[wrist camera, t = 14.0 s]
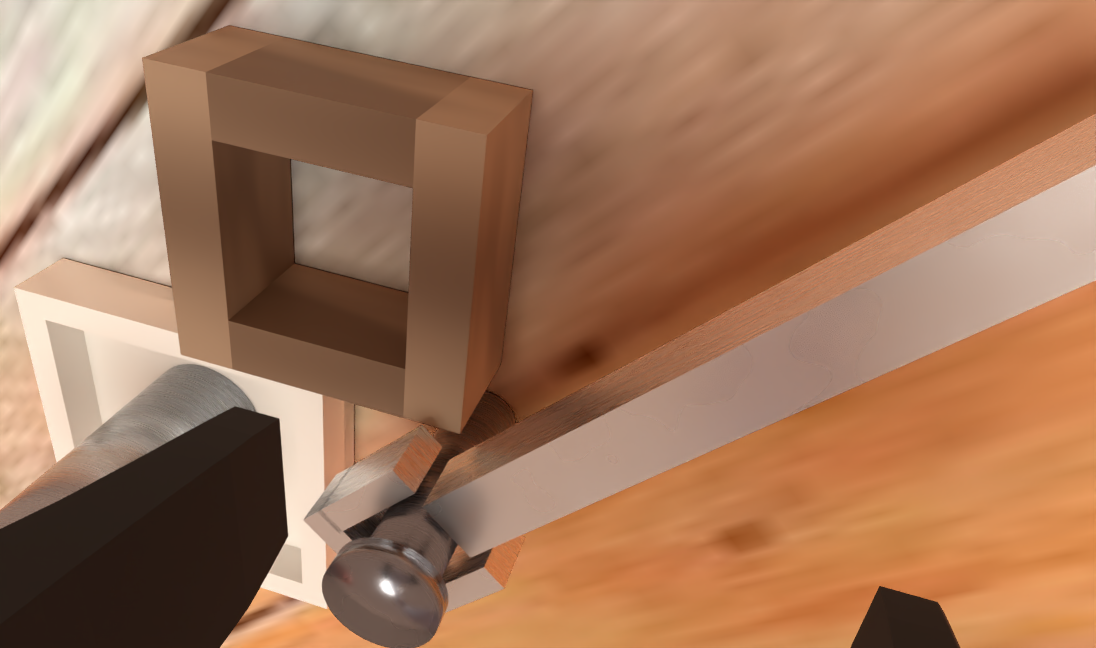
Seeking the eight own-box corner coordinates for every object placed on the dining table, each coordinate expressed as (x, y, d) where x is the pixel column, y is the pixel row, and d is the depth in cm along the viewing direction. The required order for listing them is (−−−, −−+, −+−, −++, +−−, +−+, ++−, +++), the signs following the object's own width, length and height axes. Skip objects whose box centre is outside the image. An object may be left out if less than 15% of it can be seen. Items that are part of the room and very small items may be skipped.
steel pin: (276, 491, 26) (55, 761, 19) (148, 446, 27) (-115, 690, 19) (276, 376, 24) (22, 632, 16) (136, 330, 24) (-171, 557, 17)
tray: (353, 566, 28) (327, 608, 27) (110, 489, 30) (71, 525, 28) (354, 336, 23) (321, 373, 22) (62, 258, 25) (13, 287, 23)
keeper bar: (435, 577, 22) (409, 627, 21) (336, 475, 21) (302, 519, 20) (1255, 216, 13) (1304, 263, 12) (1143, 7, 12) (1181, 32, 11)
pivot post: (524, 466, 24) (434, 663, 18) (436, 441, 24) (323, 626, 19) (535, 392, 23) (441, 581, 17) (441, 366, 23) (320, 543, 17)
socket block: (500, 363, 22) (460, 434, 20) (249, 296, 24) (180, 354, 21) (532, 90, 18) (487, 135, 16) (228, 25, 20) (142, 58, 17)
